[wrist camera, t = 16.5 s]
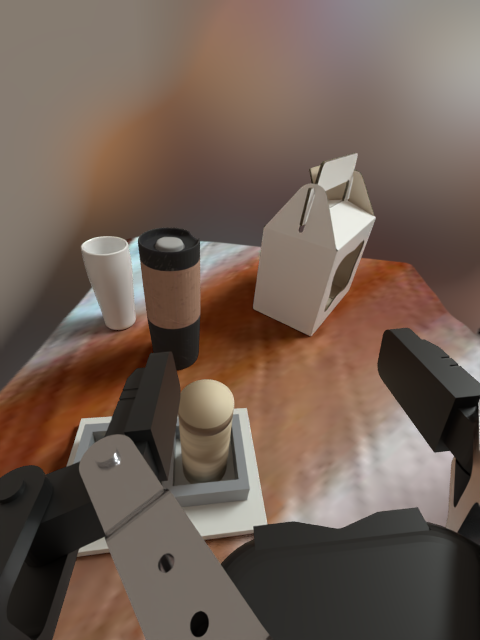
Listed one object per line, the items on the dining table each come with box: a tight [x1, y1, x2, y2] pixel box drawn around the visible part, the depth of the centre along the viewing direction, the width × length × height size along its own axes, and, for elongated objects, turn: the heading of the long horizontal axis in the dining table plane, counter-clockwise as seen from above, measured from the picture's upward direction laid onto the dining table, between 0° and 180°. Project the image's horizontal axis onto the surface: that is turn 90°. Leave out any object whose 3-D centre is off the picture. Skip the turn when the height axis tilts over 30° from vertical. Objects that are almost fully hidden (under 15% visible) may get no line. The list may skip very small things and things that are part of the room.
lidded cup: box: [178, 380, 234, 484], centre depth 30 cm, size 5×5×12 cm
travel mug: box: [138, 228, 200, 370], centre depth 43 cm, size 8×8×20 cm
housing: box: [66, 408, 267, 557], centre depth 33 cm, size 21×14×4 cm, turn 98°
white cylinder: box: [81, 236, 136, 330], centre depth 49 cm, size 7×7×15 cm
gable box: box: [253, 153, 375, 336], centre depth 57 cm, size 22×13×28 cm, turn 145°
